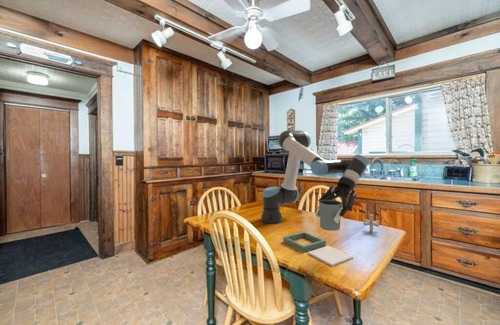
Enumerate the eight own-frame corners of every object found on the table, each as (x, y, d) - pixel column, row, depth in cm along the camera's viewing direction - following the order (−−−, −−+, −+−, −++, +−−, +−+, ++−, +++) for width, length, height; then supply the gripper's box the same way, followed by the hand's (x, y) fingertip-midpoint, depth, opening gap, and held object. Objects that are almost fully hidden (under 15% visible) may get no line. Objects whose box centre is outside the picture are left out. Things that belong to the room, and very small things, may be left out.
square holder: (283, 241, 122) (283, 237, 122) (304, 235, 129) (304, 231, 129) (303, 252, 108) (303, 247, 108) (325, 245, 116) (325, 240, 116)
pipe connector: (371, 235, 129) (371, 217, 129) (358, 229, 139) (358, 213, 139) (384, 233, 132) (385, 216, 132) (371, 227, 142) (371, 212, 141)
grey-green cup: (323, 222, 111) (323, 198, 110) (345, 226, 104) (345, 201, 104) (315, 228, 103) (315, 202, 102) (337, 233, 96) (338, 205, 96)
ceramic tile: (308, 253, 107) (308, 252, 107) (328, 247, 114) (328, 245, 114) (332, 266, 95) (332, 264, 95) (353, 258, 102) (353, 256, 102)
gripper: (374, 189, 101) (351, 230, 94) (332, 183, 120) (311, 217, 113) (367, 178, 98) (343, 219, 91) (326, 174, 117) (303, 208, 110)
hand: (325, 218), depth 102 cm, fingers closed on grey-green cup, 10 cm apart
